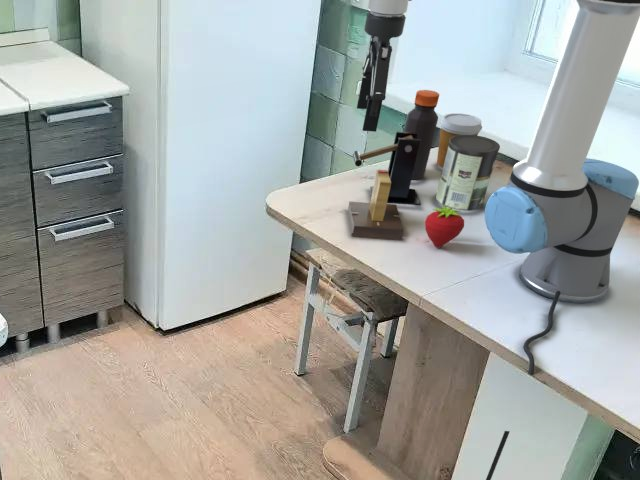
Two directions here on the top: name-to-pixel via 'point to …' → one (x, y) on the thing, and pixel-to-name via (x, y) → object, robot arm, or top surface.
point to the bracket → (403, 169)
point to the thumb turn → (380, 195)
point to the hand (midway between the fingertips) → (366, 119)
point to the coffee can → (467, 171)
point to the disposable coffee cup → (455, 131)
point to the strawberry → (443, 226)
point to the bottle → (423, 127)
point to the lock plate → (375, 222)
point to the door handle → (374, 153)
